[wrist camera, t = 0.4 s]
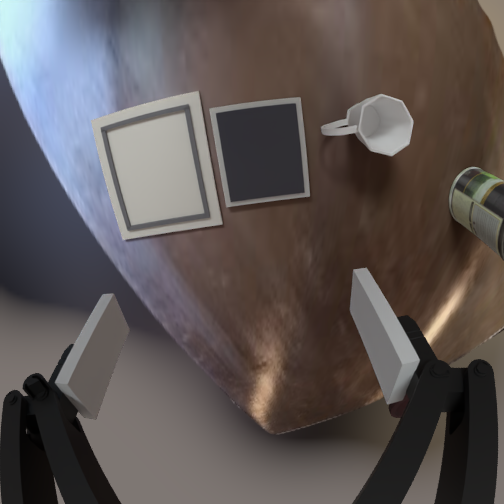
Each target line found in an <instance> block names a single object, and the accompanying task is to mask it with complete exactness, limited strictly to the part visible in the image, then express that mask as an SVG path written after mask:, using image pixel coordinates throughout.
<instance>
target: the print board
mask: <svg viewBox="0 0 504 504" xmlns="http://www.w3.org/2000/svg"><path fill="white" fill-rule="evenodd" d="M91 123H92V127H93V132H94V137H95V141H96V146H97V150H98V154H99V158H100V162H101V166H102V170H103V174H104V178H105V182H106V185H107V189H108V193H109V196H110V199H111V203H112V206H113V210H114V213H115V216H116V219H117V223H118V226H119V229H120V232H121V235H122V238H123V240H126V239H132V238H138V237H144V236H150V235H156V234H163V233H169V232H175V231H182V230H189V229H195V228H202V227H209V226H216V225H222V224H223V222H222V217H221V211H220V206H219V201H218V195H217V190H216V185H215V179H214V174H213V168H212V163H211V157H210V152H209V146H208V140H207V135H206V129H205V123H204V117H203V111H202V105H201V99H200V93H199V91H196V92H191V93H187V94H182V95H177V96H173V97H169V98H165V99H161V100H157V101H153V102H149V103H145V104H142V105H138V106H135V107H131V108H128V109H125V110H121V111H118V112H115V113H112V114H109V115H106V116H103V117H100V118H97V119H94V120H91Z"/></svg>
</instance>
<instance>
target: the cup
mask: <svg viewBox="0 0 504 504" xmlns="http://www.w3.org/2000/svg"><path fill="white" fill-rule="evenodd" d="M413 123H414V121H413V119H412V117H411V116H410V114H409V112H408V110H407V108H406V106H405V105H404V103H403V101H401V100H398V99H395V98H392V97H389V96H386V95H383V94H379V95H376V96H374V97H371V98H368V99H365V100H364V101H362V102H361V103H357V104H356V105H354V106H353V107H351V108H350V109H348V111H347V117H346V119H343V120H339V121H335V122H332V123H329V124H326V125H323V126H321V132H322V134H323V135H329V136H336V135H346V134H352V133H355V134H356V136H357V138H358V139H359V140H360V141H361V142H362V143H363V144H364V145H365V146H366V147H367V148H368V149H369V150H370V151H372V152H376V153H381V154H385V155H389V156H393V155H394V154H396V153H397V152H399V151H400V150H402V149H403V148H404V147H406V146H407V145H409V143H410V138H411V133H412V128H413ZM344 125H348V127H343V128H337V127H340V126H344Z"/></svg>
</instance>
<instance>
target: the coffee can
mask: <svg viewBox="0 0 504 504" xmlns="http://www.w3.org/2000/svg"><path fill="white" fill-rule="evenodd" d="M449 209H450V212H451V214H452V216H453V218H454V219H455V220H456V221H457V222H459V223H461V224H462V225H463V226H464V227H466V228H467V229H468V230H469V231H471V232H472V233H473V234H474V235H476V236H477V237H478V238H479V239H480V240H482V241H483V242H484V243H485V244H486V245H488V246H489V247H490V248H491V249H492V250H493V251H495V252H496V253H497V254H498V255H499V256H500V257H501V258H502V259H503V261H504V181H503V180H501V179H499V178H497V177H495V176H493V175H491V174H489V173H487V172H485V171H483V170H482V169H480V168H477V167H469V168H466V169H464V170H463V171H462V172H461V173H460V174H459V175H458V176H457V177H456V179H455V180H454V182H453V184H452V187H451V189H450V194H449Z"/></svg>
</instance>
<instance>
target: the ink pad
mask: <svg viewBox="0 0 504 504" xmlns="http://www.w3.org/2000/svg"><path fill="white" fill-rule="evenodd" d="M209 110H210V116H211V122H212V128H213V134H214V140H215V146H216V151H217V157H218V163H219V169H220V174H221V180H222V186H223V191H224V197H225V202H226V207H232V206H239V205H246V204H253V203H261V202H268V201H276V200H284V199H292V198H301V197H310V189H309V177H308V165H307V154H306V143H305V133H304V124H303V115H302V107H301V98H300V97H296V98H284V99H274V100H265V101H256V102H249V103H241V104H235V105H228V106H222V107H216V108H210V109H209Z"/></svg>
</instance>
